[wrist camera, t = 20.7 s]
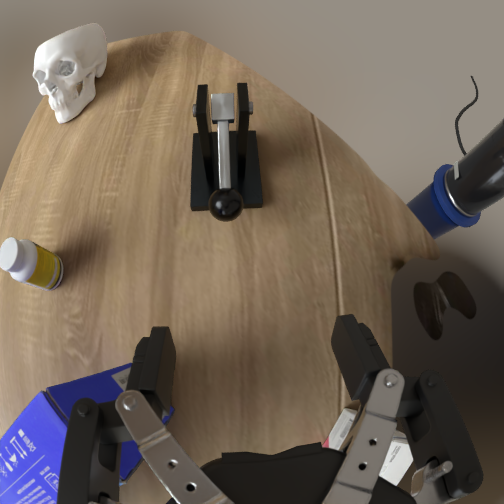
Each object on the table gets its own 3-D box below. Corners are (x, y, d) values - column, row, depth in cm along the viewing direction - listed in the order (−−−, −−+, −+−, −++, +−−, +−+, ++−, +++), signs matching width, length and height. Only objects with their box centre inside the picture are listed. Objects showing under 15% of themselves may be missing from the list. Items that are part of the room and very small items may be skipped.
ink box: (342, 468, 26) (381, 510, 15) (311, 461, 27) (342, 507, 15) (374, 415, 28) (426, 441, 17) (344, 405, 29) (391, 434, 17)
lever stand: (261, 208, 35) (276, 140, 22) (191, 211, 35) (170, 146, 21) (255, 136, 38) (263, 63, 25) (194, 139, 38) (182, 67, 25)
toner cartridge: (48, 506, 19) (-4, 544, 1) (17, 471, 20) (-43, 498, 2) (180, 411, 28) (126, 486, 10) (133, 360, 29) (36, 381, 11)
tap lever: (243, 217, 30) (245, 223, 27) (210, 219, 30) (208, 225, 27) (239, 99, 26) (241, 91, 23) (206, 101, 26) (203, 92, 23)
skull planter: (31, 136, 35) (13, 50, 21) (75, 103, 49) (65, 36, 35) (86, 120, 36) (72, 21, 22) (123, 91, 50) (116, 19, 36)
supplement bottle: (65, 252, 32) (24, 228, 23) (63, 290, 31) (19, 276, 21) (39, 255, 32) (-2, 234, 22) (37, 291, 30) (-7, 277, 21)
